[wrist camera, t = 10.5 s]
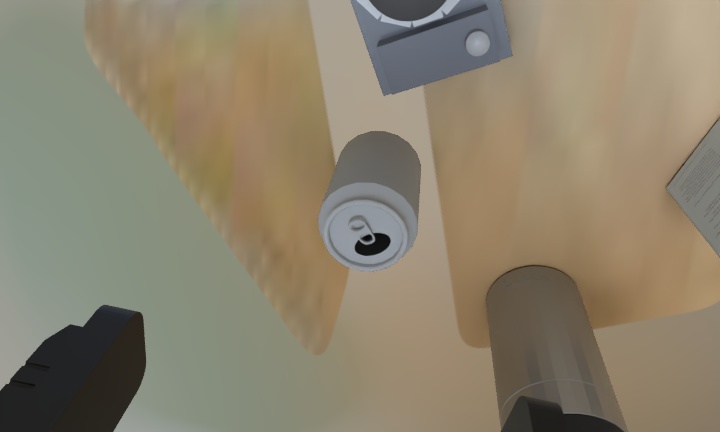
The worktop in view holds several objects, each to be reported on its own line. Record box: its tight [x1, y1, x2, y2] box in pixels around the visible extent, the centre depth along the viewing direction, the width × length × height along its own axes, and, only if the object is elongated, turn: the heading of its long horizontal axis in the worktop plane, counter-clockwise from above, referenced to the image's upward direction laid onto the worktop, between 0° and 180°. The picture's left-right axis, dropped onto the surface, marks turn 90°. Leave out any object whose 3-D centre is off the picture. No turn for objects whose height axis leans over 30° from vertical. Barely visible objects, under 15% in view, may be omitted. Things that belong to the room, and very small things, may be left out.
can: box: [318, 131, 421, 271], centre depth 43 cm, size 8×8×12 cm
